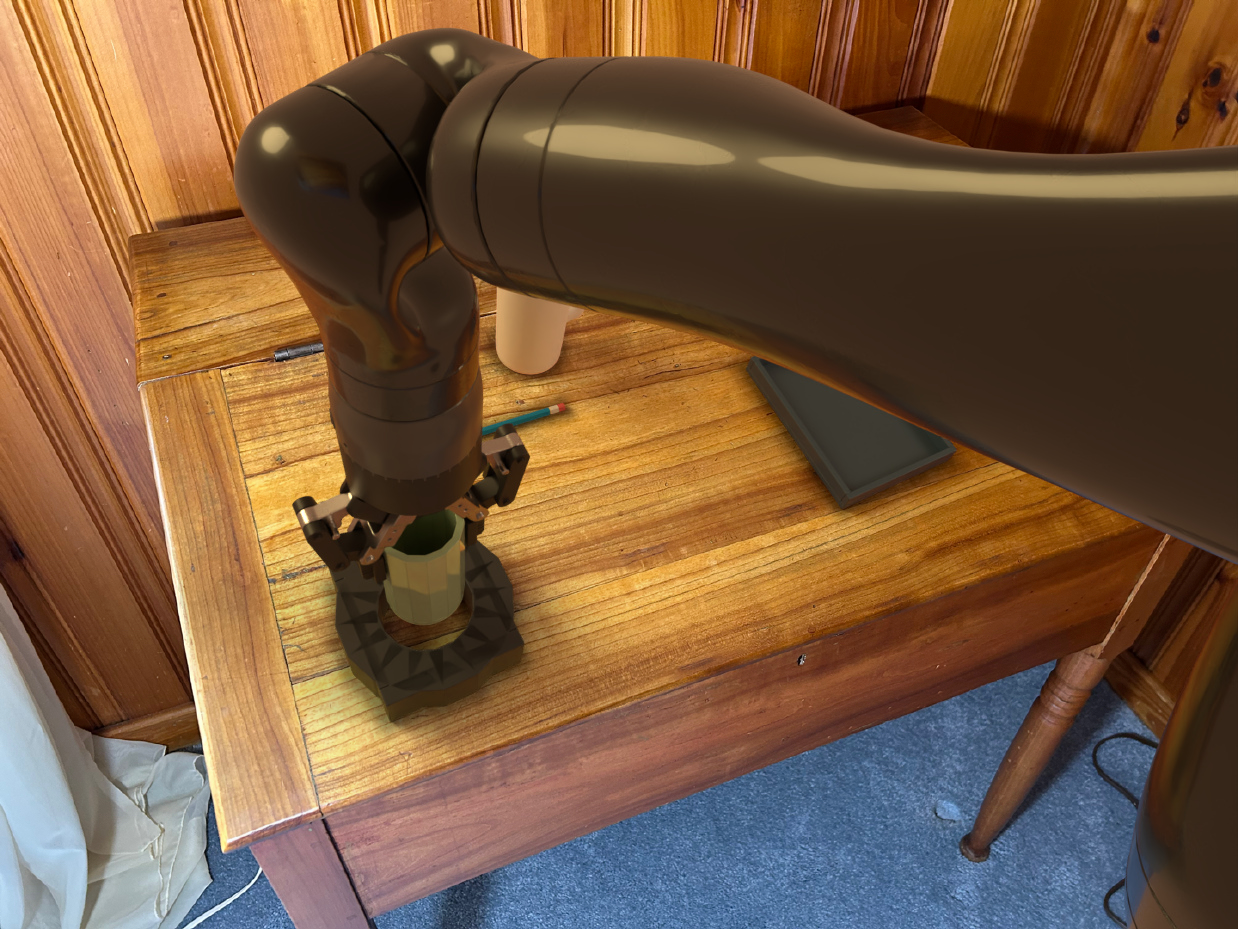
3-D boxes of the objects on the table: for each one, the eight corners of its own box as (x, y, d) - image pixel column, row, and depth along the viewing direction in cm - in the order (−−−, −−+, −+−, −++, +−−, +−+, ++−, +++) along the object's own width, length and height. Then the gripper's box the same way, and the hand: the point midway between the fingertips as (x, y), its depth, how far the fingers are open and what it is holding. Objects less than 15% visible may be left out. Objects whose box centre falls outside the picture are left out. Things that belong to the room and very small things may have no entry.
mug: (512, 387, 87) (519, 305, 77) (480, 335, 89) (483, 248, 79) (604, 352, 91) (623, 269, 80) (571, 302, 93) (585, 216, 83)
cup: (477, 606, 67) (478, 541, 58) (402, 638, 65) (391, 576, 56) (446, 542, 70) (443, 470, 60) (373, 572, 68) (358, 501, 58)
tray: (947, 461, 90) (957, 450, 88) (841, 509, 86) (849, 499, 84) (848, 330, 97) (855, 318, 95) (745, 369, 92) (750, 357, 90)
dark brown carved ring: (538, 663, 74) (542, 644, 70) (378, 737, 69) (374, 722, 66) (470, 527, 79) (471, 502, 75) (318, 587, 75) (310, 565, 71)
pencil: (565, 411, 87) (566, 407, 86) (387, 466, 81) (387, 462, 80) (561, 405, 87) (562, 401, 86) (384, 459, 81) (384, 455, 81)
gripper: (294, 524, 44) (337, 644, 58) (566, 423, 49) (543, 557, 63) (245, 402, 46) (297, 545, 61) (506, 319, 52) (497, 469, 66)
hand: (422, 550), depth 62 cm, fingers closed on cup, 5 cm apart
